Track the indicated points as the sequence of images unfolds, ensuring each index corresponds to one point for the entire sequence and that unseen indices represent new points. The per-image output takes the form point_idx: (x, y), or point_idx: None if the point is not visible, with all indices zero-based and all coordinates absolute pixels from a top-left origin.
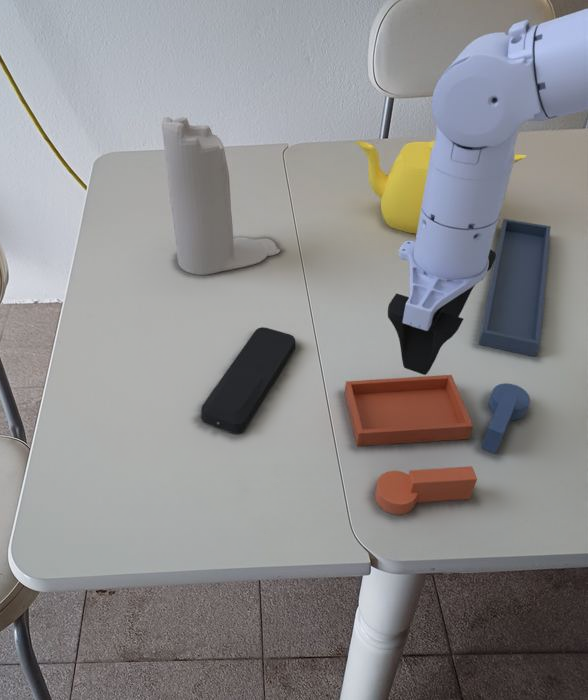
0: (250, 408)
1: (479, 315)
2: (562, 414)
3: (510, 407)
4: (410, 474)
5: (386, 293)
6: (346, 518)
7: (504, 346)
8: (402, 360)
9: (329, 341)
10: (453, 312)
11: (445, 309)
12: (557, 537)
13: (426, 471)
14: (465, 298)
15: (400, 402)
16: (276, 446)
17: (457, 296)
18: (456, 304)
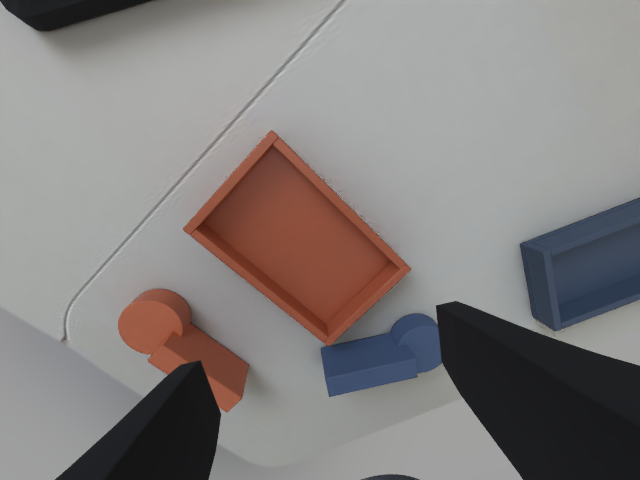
0: (61, 1)
1: (593, 208)
2: (441, 386)
3: (385, 380)
4: (157, 350)
5: (585, 18)
6: (78, 287)
7: (531, 280)
8: (166, 377)
9: (379, 8)
10: (465, 384)
11: (464, 364)
12: (261, 455)
13: (182, 362)
14: (519, 468)
15: (317, 225)
16: (79, 113)
17: (518, 443)
18: (490, 413)
